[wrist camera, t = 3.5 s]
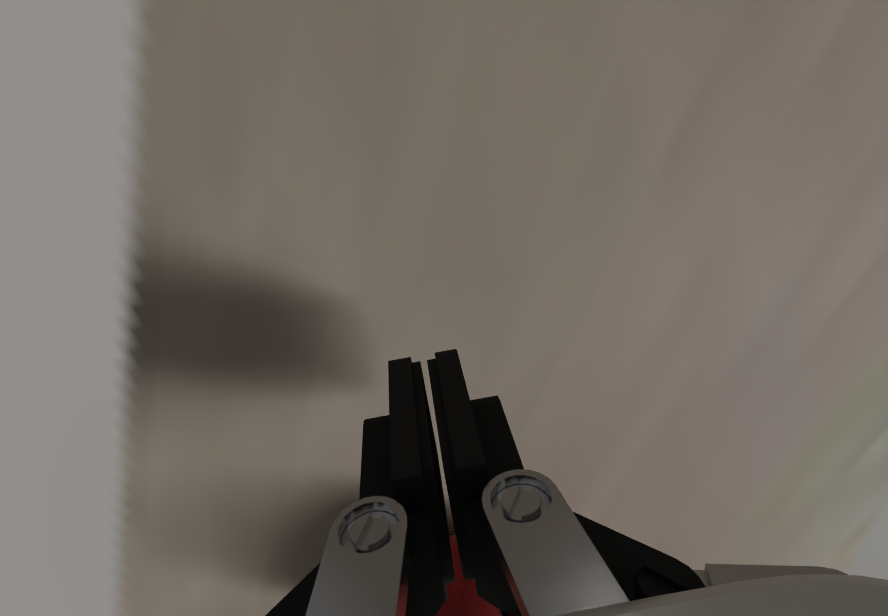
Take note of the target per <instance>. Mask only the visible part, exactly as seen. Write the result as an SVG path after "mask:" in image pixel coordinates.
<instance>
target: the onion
mask: <svg viewBox="0 0 888 616" xmlns="http://www.w3.org/2000/svg"><path fill="white" fill-rule="evenodd" d="M449 537H450V544H451V551H452V558H453V565H454V572H455V580H456V582H454V583H449V584H446V588H447V596H448V602H445V603H444V605H443V606H442V607H441V608H440V610H439V611H438V612H437V614H436V615H435V616H499V613H498V608H496V607H495V606H493V605H492V604H490V603H489V602H487V601H486V600H484V599H482V598H481V597H479V596H478V595H477V590H476V584H475V579H469V580H464V577H463V572H462V566H461V561H460V555H459V550H458V545H457V539H456V535H450V536H449Z"/></svg>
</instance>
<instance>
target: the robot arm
mask: <svg viewBox="0 0 888 616" xmlns="http://www.w3.org/2000/svg"><path fill="white" fill-rule="evenodd" d="M435 357H436V359H431V360H427V363H428V369H429V376H430V383H431V389H432V396H433V402H434V409H435V416H436V422H437V429H438V435H439V442H440V448H441V455H442V462H443V468H444V474H445V479H446V485H447V490H448V496H449V501H450V507H451V512H452V518H453V523H454V528H455V534H456V539H457V545H458V550H459V555H460V561H461V566H462V572H463V577H464V580H469V579H475V584H476V590H477V595H478V596H479V597H481V598H482V599H484V600H486V601H487V602H489V603H490V604H492V605H493V606H495V607H496V608H498V613H499V616H888V580H885V579H878V578H872V577H865V576H856V575H848V574H845V573H843V572H841V571H838V570H836V569H830V568H824V567H816V566H775V565H734V564H705V570H692V569H691V568H690V567H689V566H687V565H685V564H684V563H682V562H680V561H679V560H677V559H675V558H673V557H671V556H669V555H667V554H664V553H662V552H660V551H658V550H656V549H653V548H651V547H649V546H647V545H645V544H642V543H640V542H638V541H636V540H634V539H631V538H629V537H627V536H625V535H623V534H621V533H618V532H616V531H614V530H612V529H610V528H607V527H605V526H603V525H601V524H599V523H596V522H594V521H592V520H590V519H588V518H585V517H583V516H581V515H579V514H577V513H574V512H572V510H571V508H570V507H569V505H568V504H567V502H566V501H565V499H564V497H563V496H562V494H561V493H560V491H559V490H558V488H557V486H556V485H555V484H554V483H553V482H552V481H551V480H550V479H549V478H548V477H546V476H544V475H543V474H541V473H538V472H535V471H532V470H524V468H523V465H522V462H521V459H520V456H519V454H518V451H517V448H516V445H515V442H514V439H513V436H512V434H511V431H510V428H509V425H508V422H507V419H506V416H505V414H504V411H503V408H502V405H501V402H500V399H499V397H498V396H492V397H486V398H481V399H475V400H470V399H469V395H468V391H467V387H466V383H465V380H464V376H463V372H462V368H461V364H460V360H459V357H458V353H457V349H453V350H448V351H442V352H436V353H435ZM388 369H389V415H387V416H381V417H376V418H370V419H365V420H364V424H363V441H362V461H361V480H360V499H359V500H358V501H355V502H353V503H351V504H350V505H349V506H347V507H346V508H345V509H343V510H342V511H341V512H340V514H339V515H338V516H337V517H336V518H335V520H334V522H333V524H332V526H331V528H330V532H329V535H328V539H327V542H326V546H325V549H324V553H323V556H322V560H321V562H320V563H319V564H318V565H317V566H316V567H315V568H314V569H313V570H312V571H311V572H310V573H309V574H308V575H307V576H306V577H305V578H304V579H303V580H302V581H301V582H300V583H299V584H298V585H297V586H296V587H295V588H294V589H292V590H291V591H290V592H289V593H288V594H287V595H286V596H285V597H284V598H283V599H282V600H281V601H280V602H279V603H278V604H277V605H276V606H275V607H274V608H273V609H272V610H271V611H270V612H269V613H268V614H267V615H265V616H435V615H436V614H437V612H438V611H439V610H440V608H441V607H442V606H443V605H444V603H445V602H448V596H447V588H446V584H449V583H454V582H456V580H455V572H454V565H453V558H452V551H451V544H450V537H449V530H448V523H447V516H446V509H445V502H444V495H443V488H442V481H441V474H440V467H439V460H438V454H437V448H436V442H435V437H434V432H433V427H432V421H431V416H430V411H429V405H428V400H427V395H426V389H425V384H424V379H423V373H422V368H421V363H420V361H419V362H414V363H412V361H411V357H408V358H403V359H397V360H391V361H388Z"/></svg>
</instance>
